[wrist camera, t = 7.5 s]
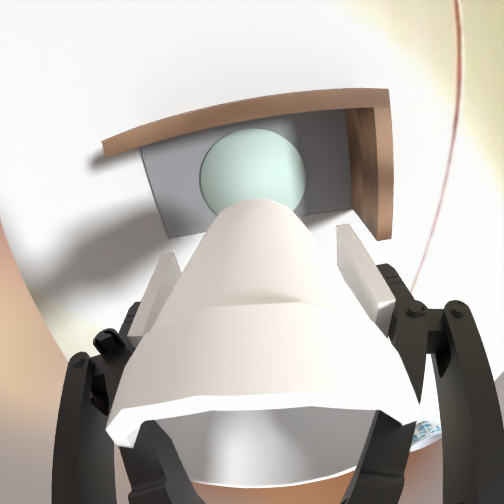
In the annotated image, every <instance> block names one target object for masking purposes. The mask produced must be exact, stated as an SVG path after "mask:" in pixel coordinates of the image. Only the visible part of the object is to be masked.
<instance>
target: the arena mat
mask: <svg viewBox="0 0 504 504" xmlns="http://www.w3.org/2000/svg"><path fill="white" fill-rule="evenodd" d="M140 149H141V153H142V156H143V160H144V163H145V167H146V170H147V173H148V176H149V180H150V183H151V186H152V189H153V193H154V196H155V199H156V202H157V205H158V208H159V211H160V214H161V217H162V220H163V223H164V226H165V229H166V231H167V234H168V237H169V239H170V238H175V237H180V236H186V235H191V234H196V233H202V232H207V230H208V229H209V227H210V226H211V224H212V223H213V222H214V220H215V219H216V217H217V216H218V214H219V213H220V212H221V211H222V210H224V209H225V208H227V207H229V206H231V205H233V204H235V203H236V202H238V201H240V200H244V199H261V198H267V199H270V200H272V201H275V202H277V203H280V204H283V205H285V206H288V207H289V208H290V209H291V210H292V211H293V212H294V214H295V215H296V216H303V215H310V214H316V213H323V212H330V211H336V210H343V209H350V208H352V190H351V172H350V157H349V145H348V135H347V125H346V116H345V109H331V110H319V111H309V112H300V113H292V114H284V115H277V116H270V117H264V118H258V119H252V120H246V121H241V122H235V123H230V124H225V125H221V126H216V127H211V128H207V129H203V130H198V131H194V132H190V133H186V134H182V135H178V136H175V137H171V138H167V139H164V140H160V141H157V142H153V143H150V144H147V145H144V146H140Z"/></svg>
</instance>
